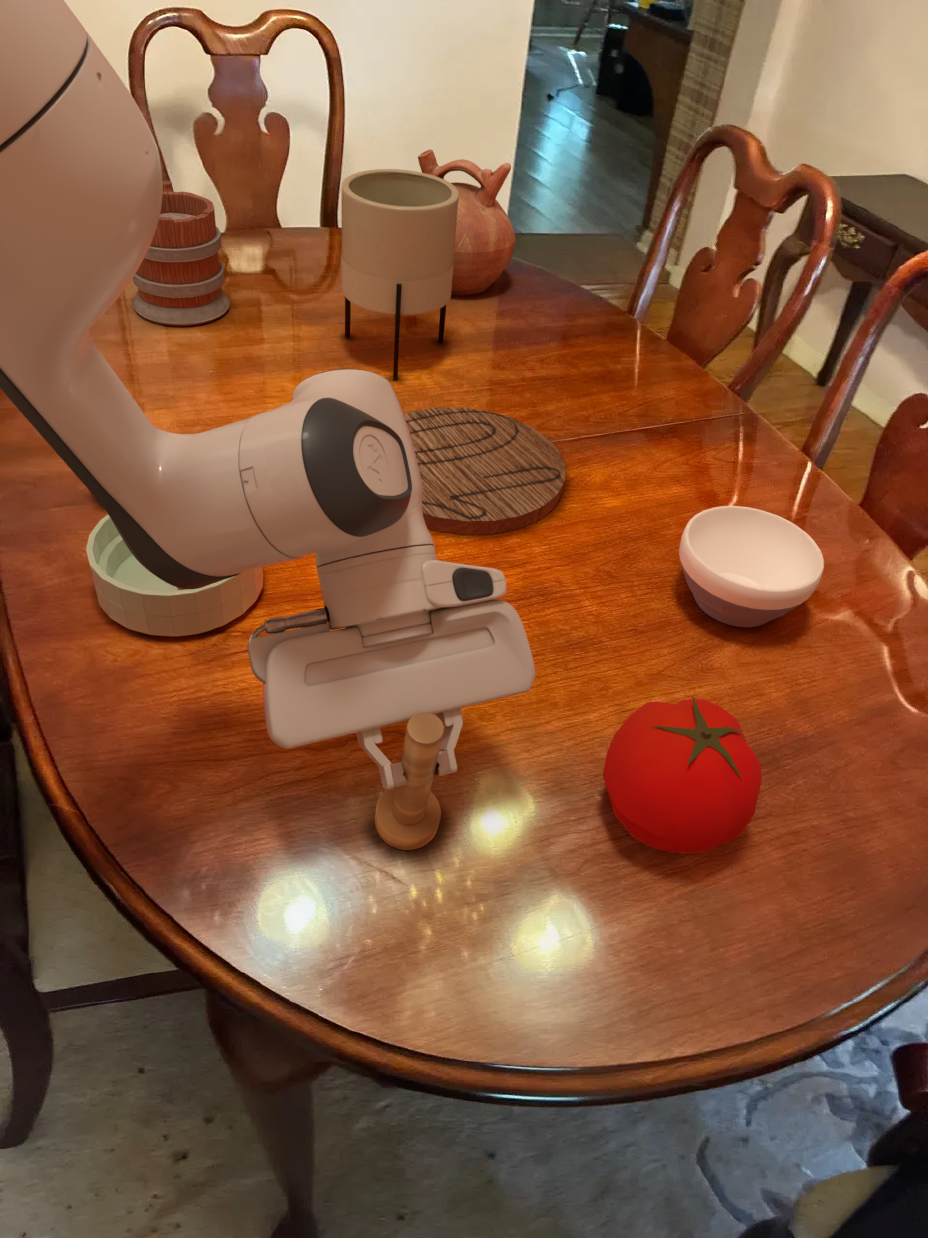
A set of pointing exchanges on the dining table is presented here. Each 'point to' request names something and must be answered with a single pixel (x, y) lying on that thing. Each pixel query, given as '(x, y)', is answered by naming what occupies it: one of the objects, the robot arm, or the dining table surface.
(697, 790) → the tomato
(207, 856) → the dining table surface
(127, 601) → the mixing bowl
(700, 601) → the bowl
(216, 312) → the mug
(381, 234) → the planter
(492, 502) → the trivet
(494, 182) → the jug
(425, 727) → the wooden peg stand
